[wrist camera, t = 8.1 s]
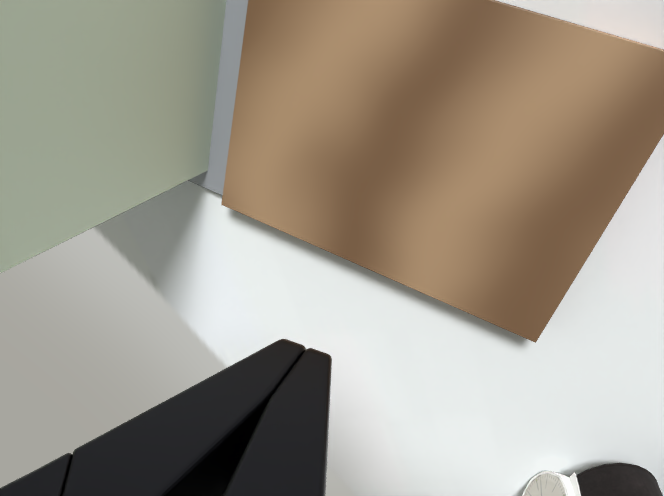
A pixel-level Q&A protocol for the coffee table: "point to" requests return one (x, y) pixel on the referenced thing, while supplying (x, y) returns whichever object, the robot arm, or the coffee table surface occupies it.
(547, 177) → the walnut board
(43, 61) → the tea caddy
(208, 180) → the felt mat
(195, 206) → the coffee table surface
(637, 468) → the watch
